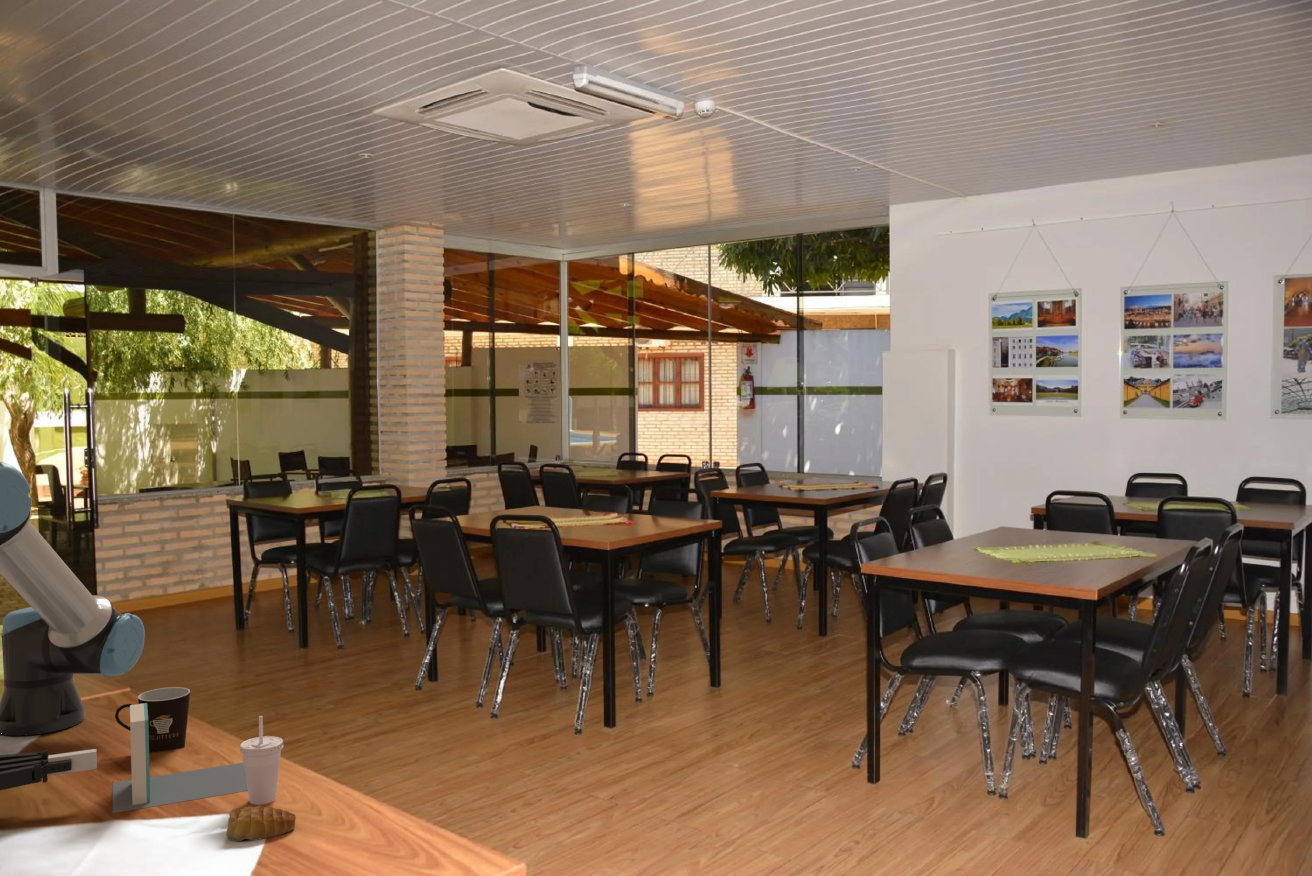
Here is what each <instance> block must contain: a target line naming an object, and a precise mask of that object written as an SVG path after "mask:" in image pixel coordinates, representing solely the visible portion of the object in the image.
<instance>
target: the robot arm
mask: <svg viewBox="0 0 1312 876" xmlns="http://www.w3.org/2000/svg"><path fill="white" fill-rule="evenodd" d="M31 492H32V490H31V486H30V484H29V481H28V480H27V479H26V477H25V475H24V474H23V473H22V472H21V471H20V470H19V469H17V468H16V467H15V466H13V465H11V464H9V463H5V462H2V461H0V575H1V576H2V577H3V578H4V579H5V580H6V581H7V582H8V583H9V584H10V585H11V586H12V587H13V588H14V590H16V591H17V593H18V594H19V596H21V597H22V598H23V600H24V601H25V602H27V604H29V607H24V608H20V609H16V610H13V611H11V612H9V613H7V614H5V616H4V617H3V620H2V633H1V636H0V637H1V644H2V645H1V646H2V647H1V648H2V649H1V650H2V665H3V667H2V668H3V692H2V695H1V698H0V733H2V734H6V735H5V736H8V735H26V736H33V735H35V734H36V735H43V734H47V733H52V732H58V731H61V730H65V729H68V728H71V727H74V726H76V725H78V724H80V723H81V722H83V721H84V720H85V717H86V716H85V705H84V702H83V701H82V698H81V696H80V693H79V690H78V687H77V686H76V684H75V681H74V674H75V675H77V674H78V675H92V676H93V675H95V676H103V677H109V676H121V675H123V674H127V673H128V672H129V671H130V670H131V669H133V667H134V666H135V665H136V664H137V663H138V661H139V659H140V657H141V655H142V652H143V651H144V650H143V649H144V645H145V638H146V636H145V635H146V634H145V633H146V631H145V627H144V624H143V620H141V618H140V617H139V616H138V615H136V614H131V613H130V612H127V613H120V612H119V611H117V610H116V607H114V606H113V604H112V603H111V602H110V601H109V600H108V599H107V598H105V597H104V596H102V595H93V594H92V593H91V592H90V591H89V590H88V588H86V586H85V585H84V584H83V582H82V581H80V579H79V577H77V576H76V574H75V573H74V572H73V571H72V570H71V569H70V568H69V565H67V564H66V563H65V562H64V560H63V559H62V558H61V557H60V556H59V555H58V553H57V552H56V551H55V549H53V547H52V546H51V545H50V544H49V543H48V541H47V540H46V539H45V538H44V536H42V534H41V533H40V532H39V531H38V530H37V528H36V527H35V526H34V524H32V523H31V518H32V509H31V508H32V504H33V497H32V496H29V493H31ZM42 733H43V734H42ZM97 756H98V755H97V748H92V749H84V750H78V751H69V752H64V753H56V754H49V749H43V751H35V752H34V751H33V752H26V753H25V752H24V753H21V752H20V753H10V754H0V791H4V790H5V791H6V790H8V789H12V788H18V787H23V786H28V785H32V784H36V783H38V784H39V783H41V782H42V783H43V784H44V783H47V782H48V778H49V777H48V776H57V775H62V774H70V773H76V772H77V773H78V772H82V771H83V772H84V771H89V770H96V769H97V768H98V767H97V766H98V763H97Z"/></svg>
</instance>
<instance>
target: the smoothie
mask: <svg viewBox="0 0 1312 876" xmlns="http://www.w3.org/2000/svg"><path fill="white" fill-rule="evenodd" d="M263 718H264V716H263V715H259V716H258V737H257V736H256V737H253V738H249V739H246V740H244V741H243V742H241V743H240V744H239V752H240V754H241V755H242V759H243V760H242V762H243V763H244V768H245V774H246V781H247V787H248V791H247V792H248V800H249V803H250V804H251V805H256V806H258V805H261V806H262V805H266V804H271V803H273V802H275V800H276V798H277V791H278V781H279V773H280V771H279V770H280V762H281V754H282V753H281V751H282V749H283V748H284V741H283V738H281V737H278V736H273V735H272V736H270V735H265V736H264V722H263V721H264V719H263Z"/></svg>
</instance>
